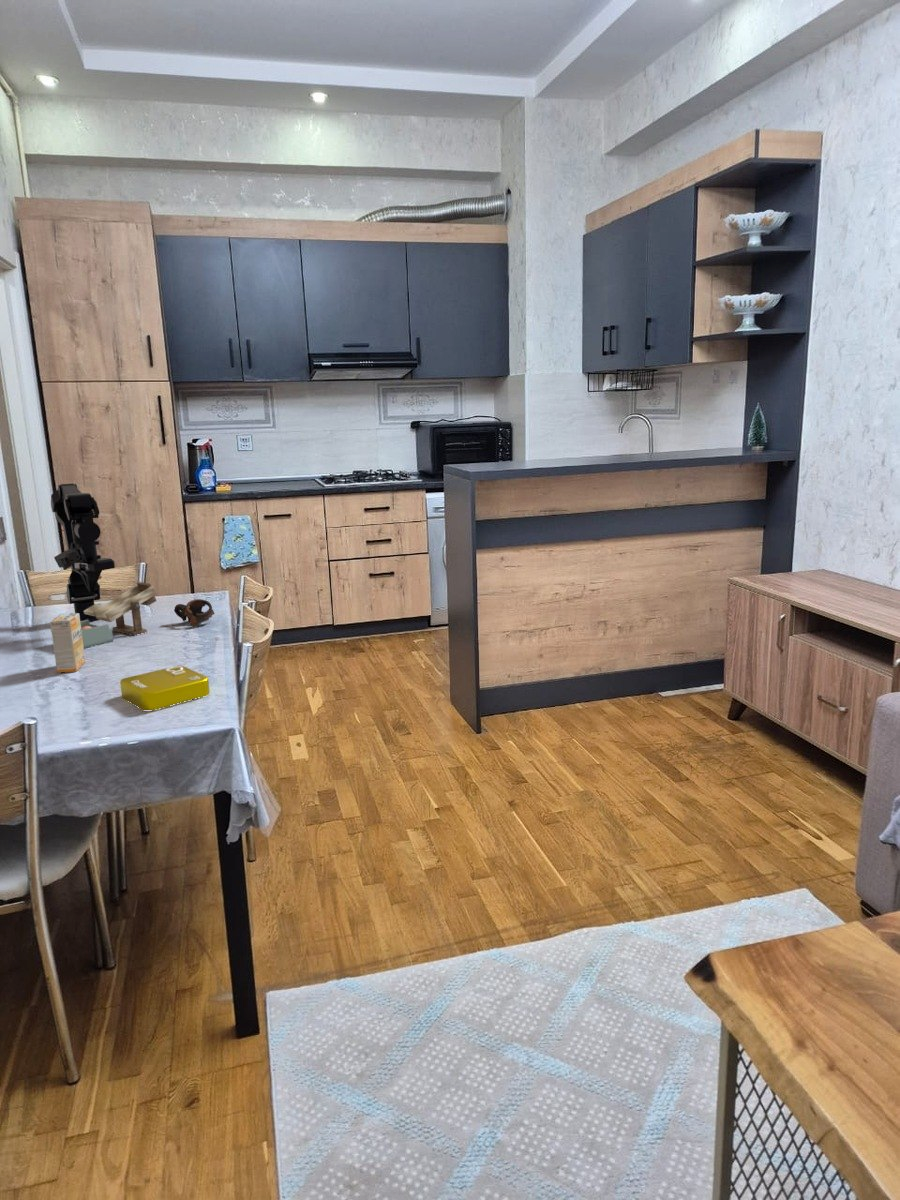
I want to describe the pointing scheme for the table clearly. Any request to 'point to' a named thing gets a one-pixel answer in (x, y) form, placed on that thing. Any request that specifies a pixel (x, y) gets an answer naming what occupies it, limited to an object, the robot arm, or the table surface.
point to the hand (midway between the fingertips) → (91, 591)
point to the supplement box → (67, 642)
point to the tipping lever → (123, 603)
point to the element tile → (164, 687)
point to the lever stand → (136, 622)
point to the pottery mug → (194, 611)
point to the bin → (95, 634)
